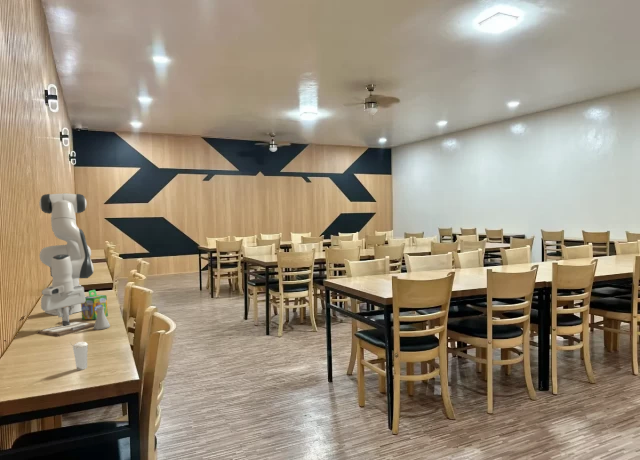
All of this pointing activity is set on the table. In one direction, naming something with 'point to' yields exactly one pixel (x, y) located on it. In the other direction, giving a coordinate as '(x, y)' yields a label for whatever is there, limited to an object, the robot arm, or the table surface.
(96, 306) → the chalk box
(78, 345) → the milkshake
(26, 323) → the table surface
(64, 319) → the marker
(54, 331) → the clipboard
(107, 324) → the flask
